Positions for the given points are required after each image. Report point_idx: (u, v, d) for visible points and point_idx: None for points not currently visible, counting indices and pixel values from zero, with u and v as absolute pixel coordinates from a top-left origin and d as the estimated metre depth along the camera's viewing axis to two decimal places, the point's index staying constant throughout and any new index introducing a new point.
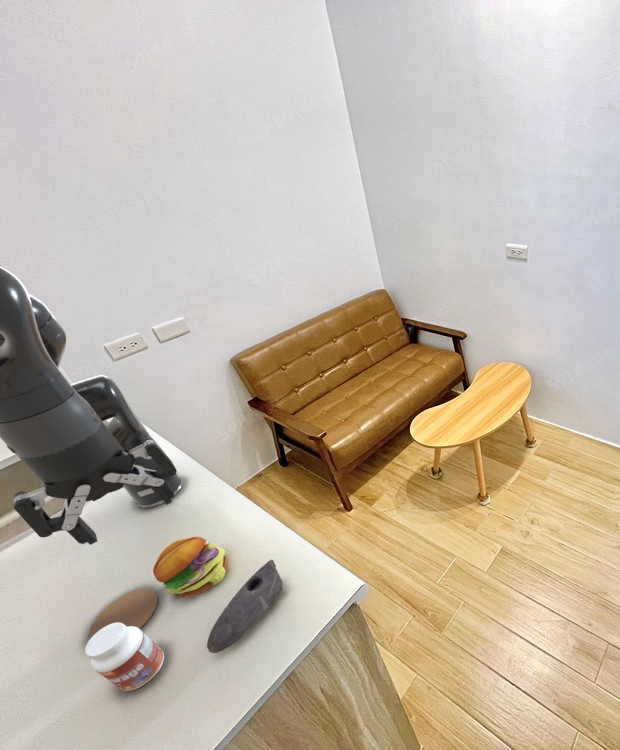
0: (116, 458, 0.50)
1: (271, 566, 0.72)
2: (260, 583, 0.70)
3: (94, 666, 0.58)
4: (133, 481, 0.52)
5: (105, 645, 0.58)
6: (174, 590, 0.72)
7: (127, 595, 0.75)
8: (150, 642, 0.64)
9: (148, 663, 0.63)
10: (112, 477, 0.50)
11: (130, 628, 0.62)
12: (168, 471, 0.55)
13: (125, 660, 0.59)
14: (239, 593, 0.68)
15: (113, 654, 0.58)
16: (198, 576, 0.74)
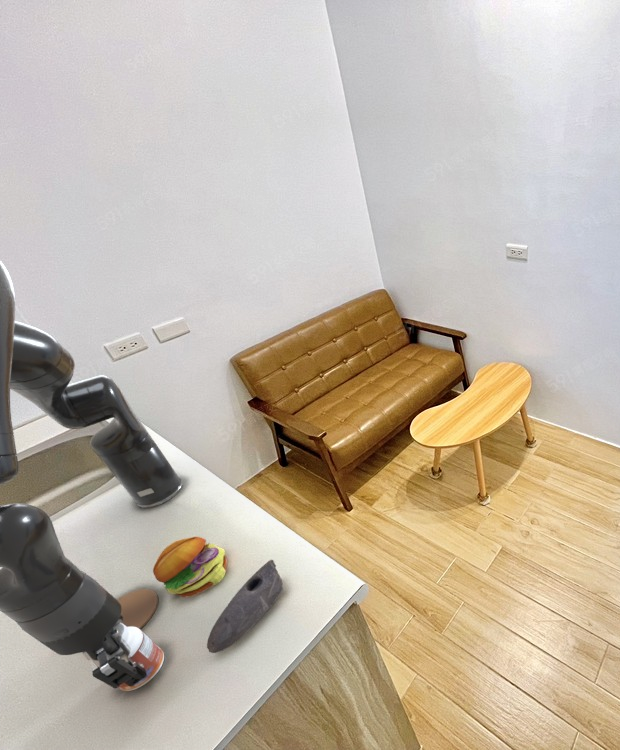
0: None
1: (271, 566, 0.72)
2: (260, 583, 0.70)
3: (94, 666, 0.58)
4: None
5: None
6: (174, 590, 0.72)
7: (127, 595, 0.75)
8: (150, 642, 0.64)
9: (148, 663, 0.63)
10: None
11: (130, 628, 0.62)
12: None
13: None
14: (239, 593, 0.68)
15: (113, 654, 0.58)
16: (198, 576, 0.74)
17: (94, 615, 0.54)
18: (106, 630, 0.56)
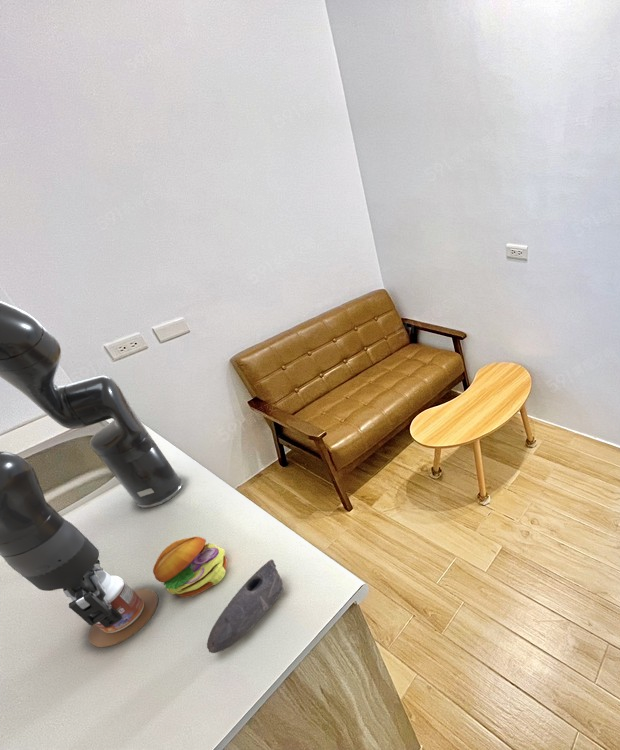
0: None
1: (271, 566, 0.72)
2: (260, 583, 0.70)
3: None
4: None
5: None
6: (174, 590, 0.72)
7: None
8: (131, 590, 0.71)
9: (129, 608, 0.70)
10: None
11: (112, 576, 0.69)
12: None
13: None
14: (239, 593, 0.68)
15: None
16: (198, 576, 0.74)
17: (73, 555, 0.60)
18: (84, 570, 0.62)
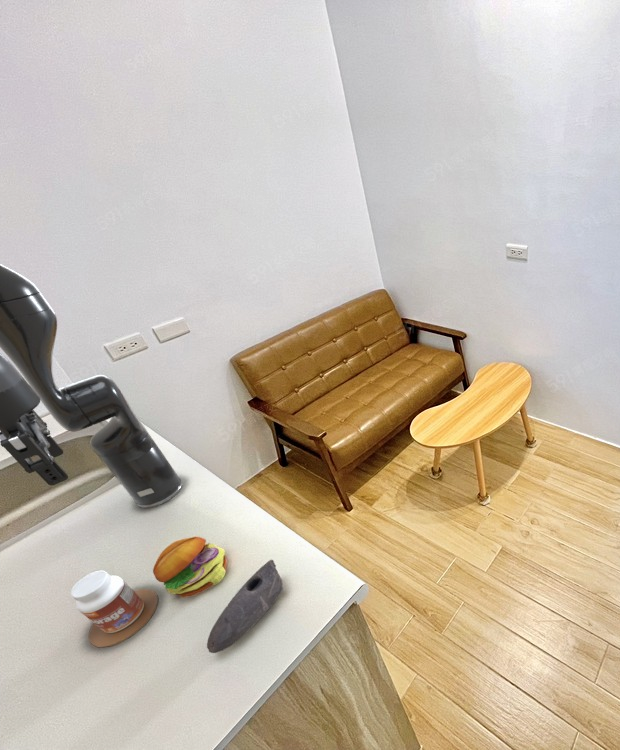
0: None
1: (271, 566, 0.72)
2: (260, 583, 0.70)
3: (79, 607, 0.65)
4: None
5: (89, 588, 0.65)
6: (174, 590, 0.72)
7: None
8: (131, 590, 0.71)
9: (129, 608, 0.70)
10: None
11: (112, 576, 0.69)
12: None
13: (107, 603, 0.66)
14: (239, 593, 0.68)
15: (96, 597, 0.65)
16: (198, 576, 0.74)
17: (6, 389, 0.54)
18: (20, 411, 0.55)
